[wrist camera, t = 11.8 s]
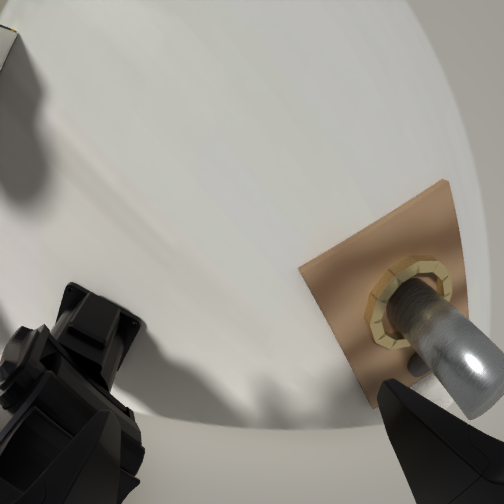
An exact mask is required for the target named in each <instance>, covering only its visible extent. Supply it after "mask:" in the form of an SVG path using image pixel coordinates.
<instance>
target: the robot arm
mask: <svg viewBox="0 0 504 504" xmlns="http://www.w3.org/2000/svg"><path fill="white" fill-rule="evenodd" d="M70 288H72V289H73V290H74V291H72V290H71V289H70ZM132 322H135V323H137V324H133V323H132ZM140 326H141V320H140V319H139V318H138V317H136V316H134V315H132V314H130V313H128V312H126V311H124V310H123V309H121V308H119V307H117V306H115V305H114V304H112V303H110V302H108V301H106V300H104V299H102V298H101V297H99V296H97V295H95V294H93V293H91V292H89V291H88V290H86V289H84V288H82V287H81V286H79V285H77V284H75V283H73V282H70V283H68V285H67V286H66V288H65V291H64V294H63V298H62V301H61V305H60V308H59V312H58V316H57V320H56V324H55V326H54V327H53V329H52V330H51V332H50V330H49V329H48V328H47V326H46V325H45V324H43V325H42V326H41V327H39V328H38V329H35V330H33V329H29V328H26V327H24V326H21V327H20V328H19V329H18V330H17V331H16V332H15V334H14V335H13V336H12V338H11V339H10V341H9V342H8V344H7V345H6V347H5V349H4V352H3V355H2V358H1V361H0V504H121V503H122V502H123V500H124V499H125V498H126V497H127V495H128V494H129V493H130V492H131V491H132V490H133V489H134V488H135V487H137V486H138V485H139V484H140V480H139V479H138V478H136V477H135V476H136V474H137V472H138V470H139V468H140V466H141V464H142V462H143V458H144V454H145V448H144V447H143V446H142V445H141V444H142V443H141V432H140V429H139V427H138V425H137V423H136V422H135V418H134V412H133V411H132V410H131V409H129V408H128V407H125V406H124V405H123V404H122V403H120V402H119V401H118V400H117V399H116V398H115V397H113V396H112V395H111V394H110V391H111V388H112V384H113V381H114V378H115V374H116V372H117V371H118V370H119V368H120V366H121V364H122V362H123V360H124V358H125V356H126V354H127V352H128V350H129V348H130V346H131V344H132V342H133V340H134V338H135V336H136V334H137V332H138V330H139V328H140ZM377 403H378V406H379V409H380V412H381V415H382V419H383V422H384V425H385V428H386V432H387V435H388V437H389V440H390V442H391V444H392V446H393V449H394V451H395V453H396V456H397V458H398V460H399V462H400V465H401V467H402V470H403V472H404V474H405V477H406V479H407V481H408V484H409V486H410V489H411V491H412V494H413V496H414V498H415V501H416V503H417V504H504V442H503V441H500V440H498V439H496V438H493V437H491V436H489V435H487V434H485V433H483V432H482V431H480V430H478V429H476V428H474V427H473V426H471V425H469V424H467V423H466V422H464V421H463V420H461V419H459V418H457V417H456V416H454V415H453V414H451V413H449V412H448V411H446V410H444V409H443V408H441V407H439V406H438V405H436V404H435V403H433V402H431V401H430V400H428V399H426V398H425V397H423V396H422V395H420V394H418V393H417V392H415V391H414V390H412V389H410V388H409V387H407V386H406V385H404V384H402V383H401V382H399V381H398V380H396V379H394V378H390V379H386V380H383V381H382V382H381V385H380V388H379V391H378V394H377Z"/></svg>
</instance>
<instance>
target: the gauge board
mask: <svg viewBox="0 0 504 504" xmlns="http://www.w3.org/2000/svg"><path fill="white" fill-rule="evenodd" d="M411 255H431V256H433V257H434V258H435V259H437V260H438V261H440V262H441V263H442V264H443V265H444V267H445V268H446V269H447V270H448V271H449V272H450V273H451V281H452V295H451V298H450V301H449V303H451V304H452V305H453V306H454V307H455V308H456V309H457V310H459V311H460V312H461V313H462V314H463V315H464V316H465V317H466V318H467V319H469V315H468V297H467V285H466V274H465V266H464V258H463V251H462V244H461V238H460V232H459V226H458V221H457V216H456V211H455V206H454V202H453V198H452V193H451V189H450V185H449V181H446V180H443V179H442V180H440V181H439V182H437V183H436V184H434V185H433V186H431V187H430V188H428V189H427V190H425V191H423V192H422V193H420V194H419V195H417V196H416V197H414V198H413V199H411V200H409V201H408V202H406V203H405V204H403V205H402V206H400V207H398V208H397V209H395V210H394V211H392V212H390V213H389V214H387V215H386V216H384V217H382V218H381V219H379V220H378V221H376V222H374V223H373V224H371V225H369V226H368V227H366V228H365V229H363V230H361V231H360V232H358V233H356V234H355V235H353V236H351V237H350V238H348V239H346V240H345V241H343V242H341V243H340V244H338V245H336V246H335V247H333V248H331V249H330V250H328V251H326V252H325V253H323V254H321V255H320V256H318V257H316V258H315V259H313V260H311V261H309V262H308V263H306V264H304V265H303V266H301V267H299V268H298V269H299V271H300V273H301V275H302V276H303V278H304V280H305V282H306V284H307V285H308V287H309V289H310V291H311V293H312V294H313V296H314V298H315V300H316V302H317V304H318V305H319V307H320V309H321V311H322V313H323V315H324V316H325V318H326V320H327V322H328V324H329V326H330V328H331V329H332V331H333V333H334V335H335V337H336V339H337V341H338V343H339V344H340V346H341V348H342V350H343V352H344V354H345V356H346V358H347V360H348V362H349V363H350V365H351V367H352V369H353V371H354V373H355V375H356V377H357V379H358V381H359V383H360V385H361V387H362V389H363V391H364V393H365V394H366V396H367V398H368V400H369V402H370V404H371V406H372V408H373V409H374V408H376V407H378V403H377V394H378V391H379V388H380V385H381V382H382V381H383V380H386V379H390V378H394V379H396V380H398V381H399V382H401V383H402V384H404V385H406V386H407V387H410V386H412V385H413V384H415V383H416V382H418V381H419V380H421V379H422V378H424V377H425V376H427V375H428V374H429V373H431V372H432V371H431V370H430V368H429V367H428V366H427V365H426V363H425V362H424V361H423V360H422V358H421V357H420V356H419V355H418V353H417V352H416V351H415V350H414V349H413V347H412V346H409V347H403V348H398V349H392V350H391V349H388V348H386V347H384V346H382V345H380V344H378V343H376V342H375V341H374V340H373V338H372V337H371V335H370V334H369V331H368V328H367V325H366V322H365V319H364V314H365V310H366V306H367V302H368V298H369V295H370V292H371V290H372V289H373V288H374V286H375V285H376V284H377V282H378V281H379V280H380V278H381V277H382V276H383V274H384V273H385V272H386V270H387V269H388V268H390V267H391V266H393V265H395V264H396V263H398V262H400V261H401V260H403V259H405V258H406V257H408V256H411ZM411 278H420V279H422V280H424V281H425V282H426V283H427V284H428V285H430V286H431V287H432V288H433V289H434V290H435V291H437V287H436V279H435V275H434V274H433V273H432V272H428V273H417V274H416V275H414V276H412V277H411ZM409 279H410V278H409ZM387 302H388V301H387ZM386 306H387V303H386ZM386 306H385V310H384V313H383V316H382V320H381V322H382V325H383V329H384V330H386V331H388V332H390V333H392V332H398V331H399V330H398V329H397V328H396V327H395V326H394V324H393V323H392V322H391V321H390V320H389V318H388V317H387V314H386Z"/></svg>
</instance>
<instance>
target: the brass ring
mask: <svg viewBox="0 0 504 504" xmlns="http://www.w3.org/2000/svg"><path fill="white" fill-rule="evenodd" d="M428 272H432V273H433V274H434V275H435V279H436V287H437V292H438V293H439V294H440V295H441V296H443V297H444V298H445V299H446V300H447V301H448V302H449V301H450V298H451V295H452V281H451V273H450V272H449V271H448V270H447V269H446V268H445V267H444V265H443V264H442V263H441V262H440V261H438V260H437V259H435V258H434V257H433V256H431V255H411V256H408V257H406V258H405V259H403V260H401V261H400V262H398V263H396V264H395V265H393V266H391V267H390V268H388V269H387V270H386V272H385V273H384V274H383V276H382V277H381V278H380V280H379V281H378V282H377V284H376V285H375V286H374V288H373V289H372V290H371V292H370V295H369V298H368V302H367V306H366V310H365V314H364V319H365V322H366V325H367V328H368V331H369V334H370V335H371V337H372V338H373V340H374V341H375V342H376V343H378V344H380V345H382V346H384V347H386V348H388V349H391V350H392V349H398V348H403V347H409V346H411V345H410V344H409V342H408V341H407V340H406V339H405V338H404V336H403V335H402V334H401V333H400V332H399V331H398V332H392V333H390V332H388V331H386V330H384V329H383V325H382V322H381V320H382V316H383V313H384V310H385V306H386V303H387V301H388V300H389V298H390V297H391V296H392V295H393V293H394V292H395V291H396V289H397V288H398V287H399V285H400V284H401V283H403V282H404V281H406V280H408V279H409V278H411V277H412V276H414V275H416V274H417V273H428Z"/></svg>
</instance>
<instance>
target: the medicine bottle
mask: <svg viewBox="0 0 504 504" xmlns="http://www.w3.org/2000/svg"><path fill="white" fill-rule="evenodd" d="M16 36H17V31H15V30H13V29H10V28H8V27H5V26H3V25H0V71H1V68H2V66H3V64H4V61H5V59H6V57H7V55H8V53H9V50H10V48H11V46H12V44H13V42H14V40H15V38H16Z"/></svg>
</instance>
